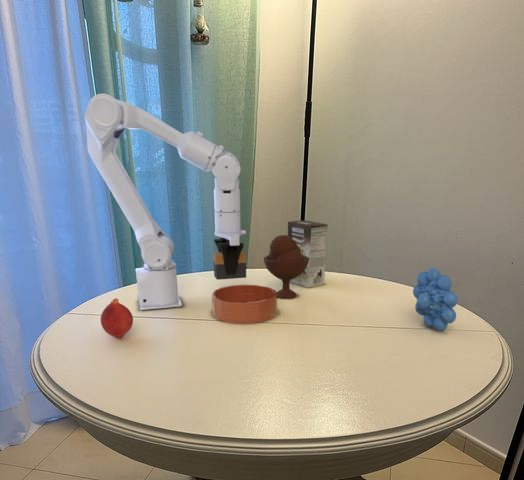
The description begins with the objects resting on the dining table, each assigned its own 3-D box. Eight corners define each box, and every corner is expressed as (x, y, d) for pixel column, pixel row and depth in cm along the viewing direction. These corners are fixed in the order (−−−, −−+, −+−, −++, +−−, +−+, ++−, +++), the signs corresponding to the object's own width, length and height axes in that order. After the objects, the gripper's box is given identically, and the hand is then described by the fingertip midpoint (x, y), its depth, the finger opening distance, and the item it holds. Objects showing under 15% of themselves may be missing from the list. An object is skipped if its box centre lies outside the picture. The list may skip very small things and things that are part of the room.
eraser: (216, 279, 104) (215, 255, 102) (214, 276, 107) (213, 252, 105) (246, 277, 106) (246, 254, 104) (242, 274, 109) (242, 251, 107)
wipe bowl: (219, 326, 93) (218, 305, 92) (208, 306, 106) (207, 287, 104) (285, 319, 97) (285, 299, 95) (266, 300, 109) (266, 282, 108)
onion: (117, 346, 84) (111, 305, 81) (97, 340, 87) (90, 300, 84) (141, 336, 88) (136, 297, 85) (121, 330, 91) (115, 292, 88)
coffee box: (285, 281, 126) (286, 221, 120) (303, 277, 130) (304, 219, 123) (307, 288, 119) (309, 225, 113) (325, 284, 123) (328, 223, 117)
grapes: (394, 321, 96) (401, 265, 91) (419, 317, 98) (427, 262, 93) (433, 340, 86) (443, 278, 81) (460, 335, 88) (471, 274, 84)
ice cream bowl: (309, 301, 108) (312, 238, 103) (263, 301, 109) (262, 238, 103) (306, 289, 118) (308, 231, 112) (263, 289, 118) (263, 231, 112)
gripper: (252, 214, 95) (253, 277, 101) (237, 207, 108) (239, 263, 113) (219, 215, 93) (222, 279, 99) (208, 208, 106) (211, 265, 112)
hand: (229, 271), depth 106 cm, fingers closed on eraser, 3 cm apart
